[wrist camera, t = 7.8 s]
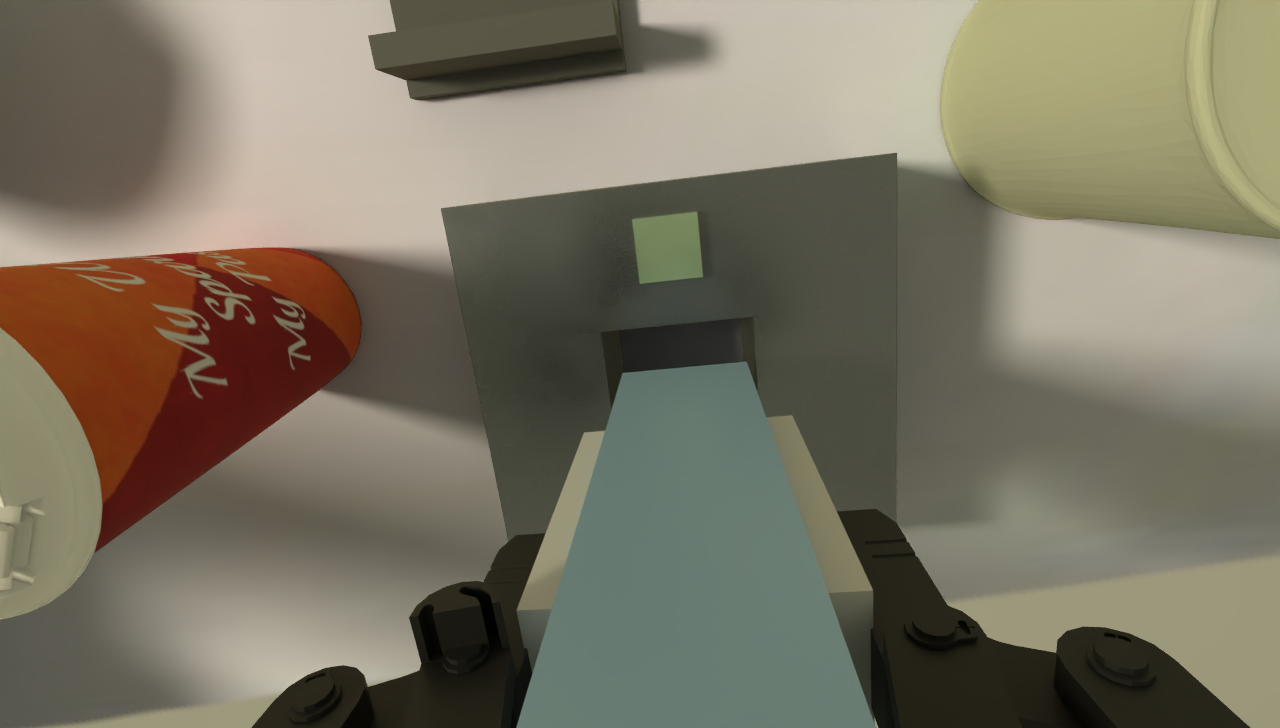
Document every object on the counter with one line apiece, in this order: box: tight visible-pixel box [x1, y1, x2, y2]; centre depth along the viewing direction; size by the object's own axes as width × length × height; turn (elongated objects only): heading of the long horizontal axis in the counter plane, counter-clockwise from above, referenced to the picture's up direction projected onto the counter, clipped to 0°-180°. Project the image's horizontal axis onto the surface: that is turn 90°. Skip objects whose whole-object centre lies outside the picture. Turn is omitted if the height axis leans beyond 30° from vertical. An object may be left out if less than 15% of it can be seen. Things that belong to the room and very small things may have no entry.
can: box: [940, 0, 1280, 239], centre depth 16 cm, size 9×9×12 cm
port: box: [441, 153, 897, 541], centre depth 23 cm, size 14×14×5 cm
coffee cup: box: [0, 248, 361, 619], centre depth 19 cm, size 8×8×15 cm
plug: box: [516, 362, 876, 728], centre depth 12 cm, size 4×4×14 cm
